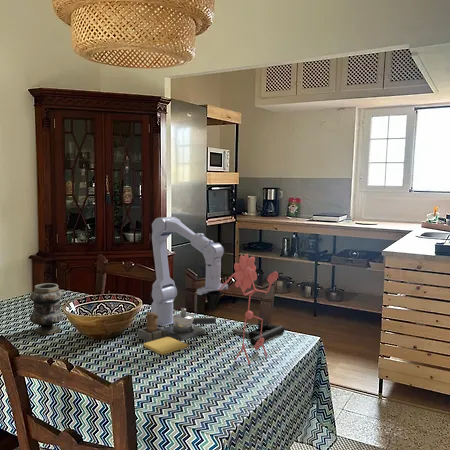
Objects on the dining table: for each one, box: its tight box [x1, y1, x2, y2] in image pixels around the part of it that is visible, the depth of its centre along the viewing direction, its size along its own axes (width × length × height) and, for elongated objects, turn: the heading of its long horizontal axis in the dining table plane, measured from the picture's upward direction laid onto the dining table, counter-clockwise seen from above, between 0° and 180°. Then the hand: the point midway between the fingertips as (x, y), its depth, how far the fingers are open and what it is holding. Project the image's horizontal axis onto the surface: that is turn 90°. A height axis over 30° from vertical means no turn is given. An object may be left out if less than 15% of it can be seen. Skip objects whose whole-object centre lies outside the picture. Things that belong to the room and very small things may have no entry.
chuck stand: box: [162, 324, 206, 341], centre depth 175 cm, size 12×12×2 cm
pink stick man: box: [218, 253, 279, 365], centre depth 152 cm, size 15×26×35 cm, turn 137°
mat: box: [143, 335, 188, 356], centre depth 160 cm, size 11×11×1 cm
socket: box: [137, 325, 167, 343], centre depth 169 cm, size 8×8×3 cm
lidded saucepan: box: [172, 307, 217, 332], centre depth 175 cm, size 16×8×8 cm, turn 96°
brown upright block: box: [145, 311, 158, 333], centre depth 169 cm, size 6×4×9 cm, turn 44°
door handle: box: [233, 322, 285, 346], centre depth 173 cm, size 3×20×16 cm
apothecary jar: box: [29, 283, 64, 336], centre depth 174 cm, size 12×12×18 cm
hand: (212, 310), depth 173 cm, fingers closed
